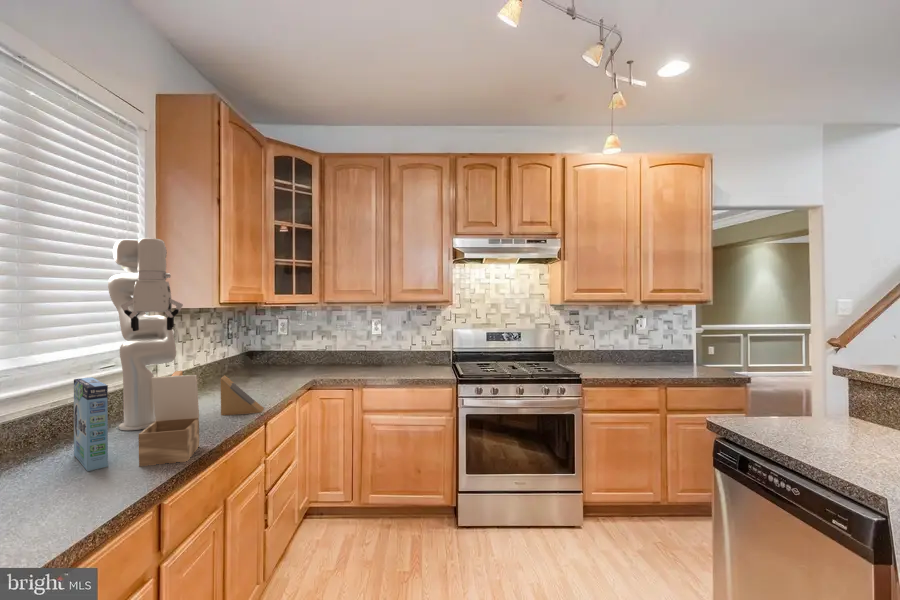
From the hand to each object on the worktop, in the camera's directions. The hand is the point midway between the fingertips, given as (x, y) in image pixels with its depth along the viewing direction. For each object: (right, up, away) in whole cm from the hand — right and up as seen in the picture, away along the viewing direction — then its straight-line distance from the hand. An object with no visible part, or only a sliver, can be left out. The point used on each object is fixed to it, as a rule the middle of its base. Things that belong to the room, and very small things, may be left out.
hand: (152, 330), depth 151 cm
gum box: (-7, -37, -16) cm, 41 cm away
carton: (+13, -36, -13) cm, 41 cm away
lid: (+12, -20, -7) cm, 25 cm away
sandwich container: (+11, -36, +41) cm, 56 cm away
